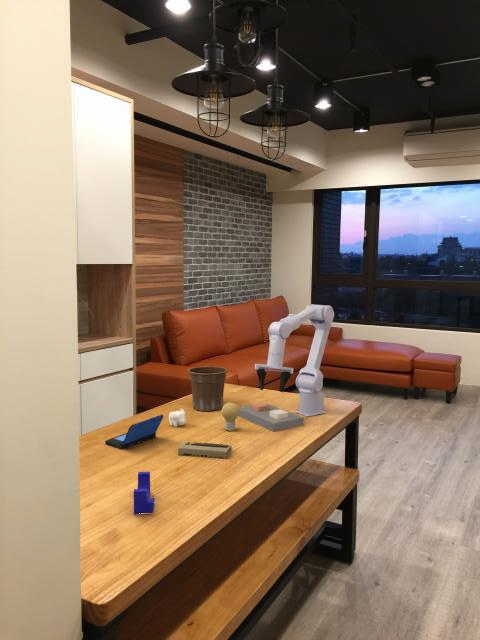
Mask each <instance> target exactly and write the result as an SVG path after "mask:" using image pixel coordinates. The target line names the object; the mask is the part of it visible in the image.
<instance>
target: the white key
mask: <svg viewBox="0 0 480 640" xmlns="http://www.w3.org/2000/svg"><path fill="white" fill-rule="evenodd" d="M281 409H282V408H280V409H278V410H273V411H269V416H270V417H273V418H275V419H282V418H287V417H288V412H289V411H288V412H286V411H287V410H285V409H283V410H281ZM284 410H285V411H284Z"/></svg>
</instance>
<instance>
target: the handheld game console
mask: <svg viewBox="0 0 480 640" xmlns="http://www.w3.org/2000/svg"><path fill="white" fill-rule="evenodd" d="M163 419H164V414H160V415H157V416H154V417H151V418H148V419H145V420H142V421H139V422H137V423H134V424H131V425H130V427H129V428H128V430H127V432H125V433H122V434H120V435H116V436H114V437H111V438H109V439H107V440H105V441H104V443H105V445H107V446H110V447H113V448H116V449H120V450H125V449H129V448H131V447H134V446H136V445H138V444H139V443H138V442H140V443H144V442H147V441H149V440H153V439H155V438H156V437H157V431H158V429H159V427H160V425H161V423H162V421H163ZM143 441H144V442H143ZM137 443H138V444H137ZM133 445H134V446H133Z"/></svg>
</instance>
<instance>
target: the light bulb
mask: <svg viewBox="0 0 480 640" xmlns="http://www.w3.org/2000/svg"><path fill="white" fill-rule="evenodd" d="M239 408H240V407H239V406H238V405H237V404H236V403H234V402H227V403H225V404H223V405H222V408H221V416H222V417H223V418H224V420H225V421H224V429H225V430H226V431H229V432H233V431H235V430H236V420H237V418H238V417H239V416H238V415H239Z"/></svg>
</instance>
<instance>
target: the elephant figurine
mask: <svg viewBox="0 0 480 640" xmlns="http://www.w3.org/2000/svg"><path fill="white" fill-rule="evenodd" d="M168 422H169V425H170V426H174V427H175V428H176V427H178V426H184V424H186V423H185V422H187V421H186V412H185V410H184V409H183V408H180V409H179V410H175V411H171V412H169V413H168Z"/></svg>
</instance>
